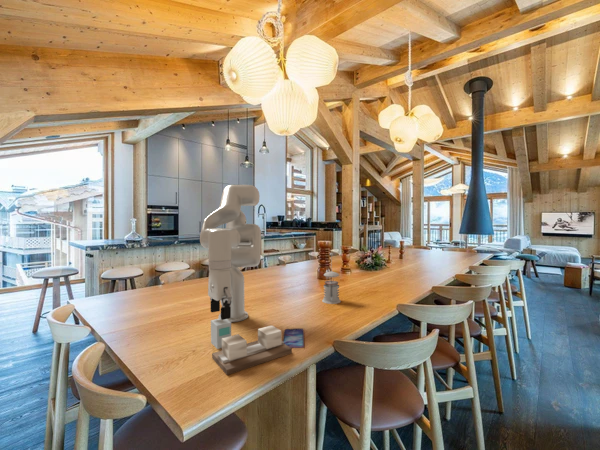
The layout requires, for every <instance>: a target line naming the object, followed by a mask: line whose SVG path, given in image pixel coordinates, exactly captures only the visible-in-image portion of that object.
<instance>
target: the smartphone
mask: <svg viewBox="0 0 600 450" xmlns="http://www.w3.org/2000/svg"><path fill="white" fill-rule="evenodd" d="M304 335H305V333H304V328H286V329H285V328H284V333H283V338H282V339H283V340H282V341H283V342H284V344H286V345H287V346H289V347H290V348H293V349H298V348H299V349H302V348H305V344H304V343H305V342H304V341H305V340H304V337H305V336H304Z"/></svg>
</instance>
